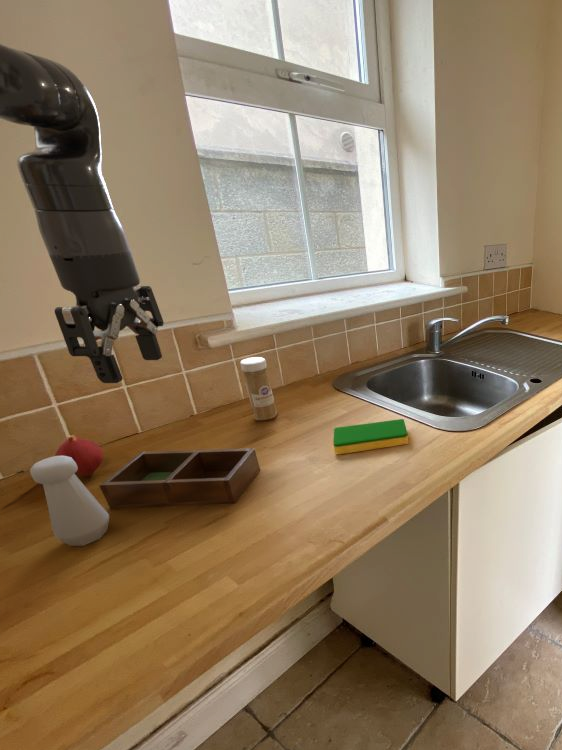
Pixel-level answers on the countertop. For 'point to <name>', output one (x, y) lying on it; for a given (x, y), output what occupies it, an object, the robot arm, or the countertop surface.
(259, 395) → the sprinkles bottle
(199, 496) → the divided wooden tray
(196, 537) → the countertop surface
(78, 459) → the onion
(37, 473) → the salt shaker
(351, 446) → the dish sponge
